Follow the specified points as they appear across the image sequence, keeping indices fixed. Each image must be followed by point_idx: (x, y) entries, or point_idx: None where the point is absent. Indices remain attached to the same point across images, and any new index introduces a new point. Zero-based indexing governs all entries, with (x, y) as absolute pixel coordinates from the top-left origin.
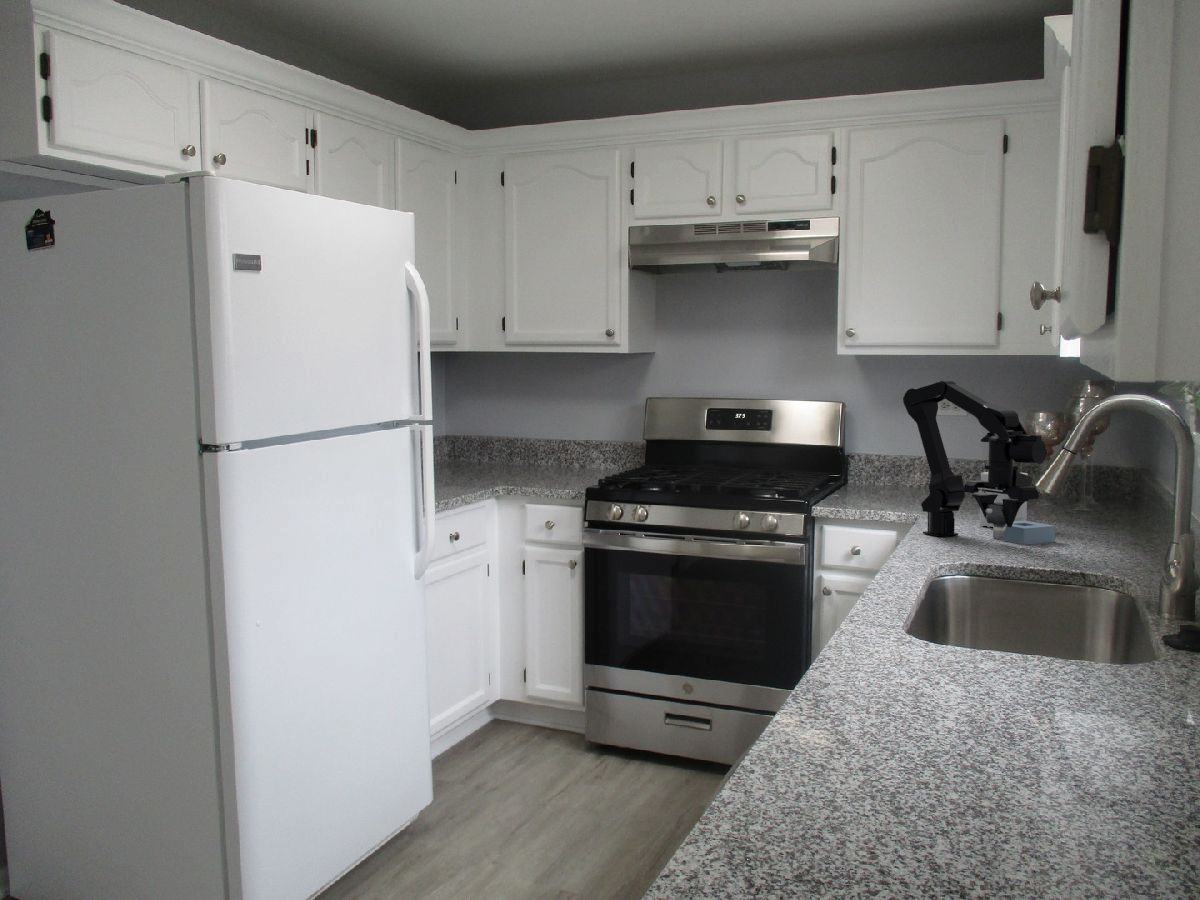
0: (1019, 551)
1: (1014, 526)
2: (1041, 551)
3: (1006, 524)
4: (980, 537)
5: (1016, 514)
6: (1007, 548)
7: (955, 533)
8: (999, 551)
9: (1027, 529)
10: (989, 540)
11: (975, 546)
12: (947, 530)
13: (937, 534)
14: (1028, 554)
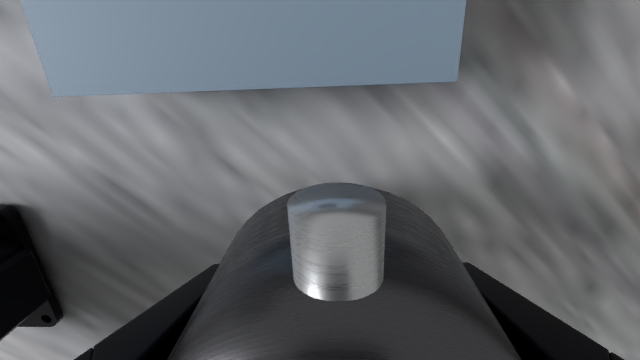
0: (552, 258)
1: (316, 78)
2: (636, 155)
3: (173, 49)
4: (83, 124)
5: (598, 348)
6: (455, 249)
7: (2, 225)
8: None
9: (458, 37)
10: (200, 154)
11: None
12: (31, 309)
13: (35, 320)
14: (635, 279)
